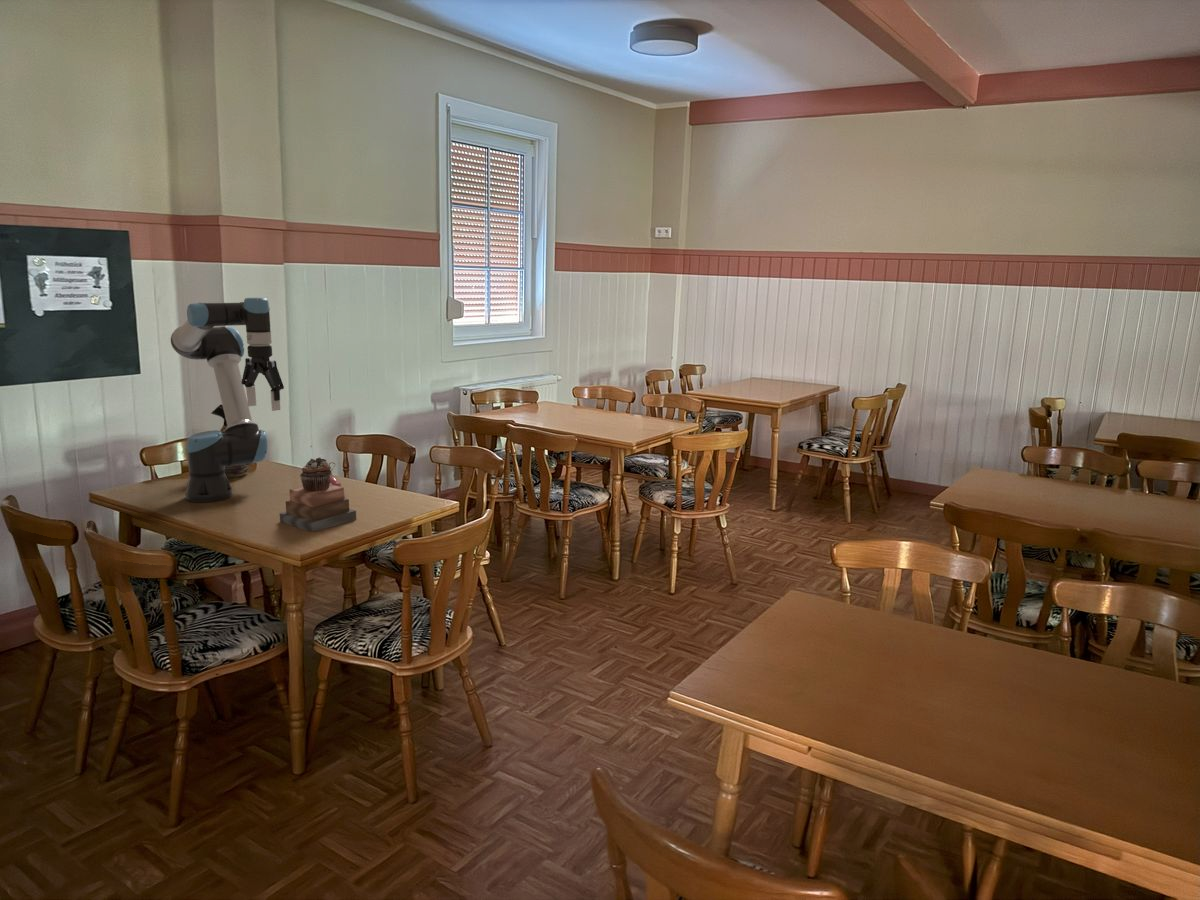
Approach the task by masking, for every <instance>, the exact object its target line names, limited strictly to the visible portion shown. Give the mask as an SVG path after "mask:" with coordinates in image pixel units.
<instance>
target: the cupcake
mask: <svg viewBox="0 0 1200 900" xmlns="http://www.w3.org/2000/svg"><path fill="white" fill-rule="evenodd" d="M301 470H302V472H301V473H300V474H299V477H300V480H301V483H302V486H303V489H304V490H305V491H312V492H314V491H322V490H326V489H328V488H329V484H331V483H330V477H331V473H332V471H331V470H332V467H331V466H329V463H328V461H327V459H325V458H321V457H317V458H315V459H313V458H310V460H308V461H307V463H306V464H305V465H304V466H303V467H302V469H301Z"/></svg>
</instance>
